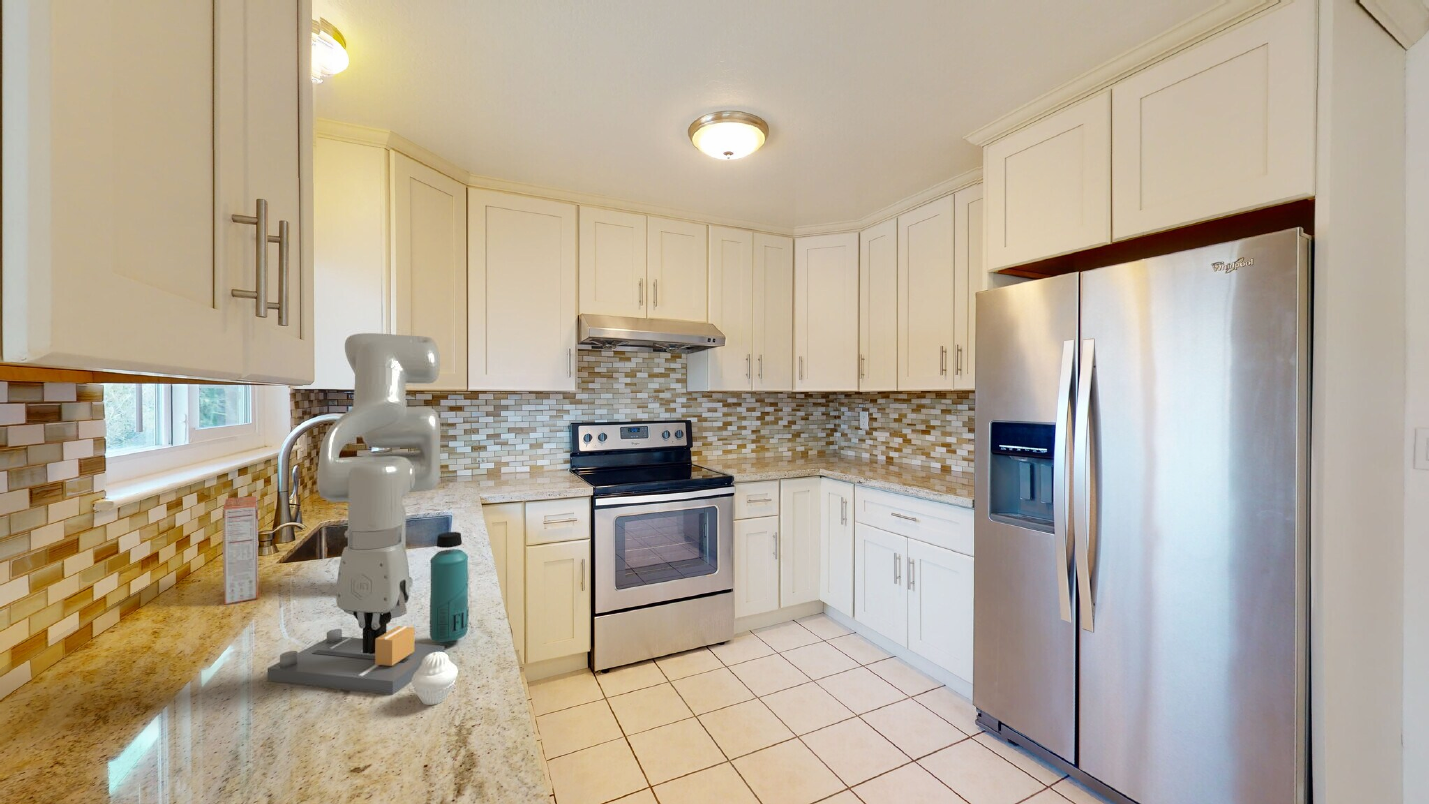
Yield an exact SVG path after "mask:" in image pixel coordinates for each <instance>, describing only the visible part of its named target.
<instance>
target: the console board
mask: <svg viewBox="0 0 1429 804" xmlns="http://www.w3.org/2000/svg"><path fill="white" fill-rule="evenodd" d="M433 652H444V653H445V645H438V644H436V645H435V644H427V643H425V644H424V643H415V642H414V652H413V653H411V654H410V655H408V656H407V657H405V658H403V659H402V660H400V661H399V662H397V663H396V664H394V665H393V666H389V665H379V664H375V653H374V654H369V653H367V654H365V653H363V637H362V638H360V637H352V636H351V637H349V636H343V630H342V629H341V628H335V629H331V630H328V631H326V638H325V639H323V640H320V641H319V642H317V643H315V644H313V645H311V646H309V647H307V648H305V649H303V650H301V651H300V652H298V651H296V650H290V651H286V652H282V653H281V654H280V655H279V662H277V663H275V664H273V665H271V666H269V667H267V672H266V673H267V676H266V678H267V681H268V682H273V683H275V682H276V683H283V684H293V685H294V684H295V685H299V686H300V685H303V686H310V687H311V686H312V687H320V688H329V689H339V690H346V691H347V690H349V691H355V692H365V693H373V694H374V693H375V694H384V695H390V696H391V695H394V694H396V693H397V692H398V691H400V690H402V689H403V688H404V687H406V686H407V685H408V684H409V683H412V682H411V680H412V677H413V675H414V673H415V672H416V671H417V670H418V669H419V667H420V666H421V665H422V660H423V659H424V658H425V657H426V656H427V655H429V654H430V653H433Z"/></svg>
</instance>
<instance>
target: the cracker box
mask: <svg viewBox="0 0 1429 804" xmlns="http://www.w3.org/2000/svg"><path fill="white" fill-rule="evenodd" d="M257 497H258V496H257V495H254V496H241V497H230V498H225V500H224V505H223V506H224V507H223V512H222V565H223V566H222V567H223V568H222V569H223V571H222V572H223V601H224V602H223V603H224V605H231V604H236V603H242V602H248V601H253V600H258V599H259V513H258V512H259V511H258V510H259V509H258V499H257Z"/></svg>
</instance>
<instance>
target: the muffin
mask: <svg viewBox="0 0 1429 804" xmlns="http://www.w3.org/2000/svg"><path fill="white" fill-rule="evenodd" d="M458 675H459V670H458V667H457V666H456V664H454V663H453V662H452V661H450V659H449V655H448V654H447V653H445V651H444V652H433V653H430V654H429V655H427V656H426V657H425V658H424V659H423V660H422V665H421V666H420V667H419V669H418V670H417V671H416V672H415V673H414V675H413V677H412V680H411V682H410V683H411V685H412V687H413V690H414V692H415V694H416V695H417V697H418V698H419V700H420V701H421V702H422V704H423V705H426V706H431V705H432V706H435V705H438V704H441V703H442V702H444V701H445V700H446V699H448V697H449V694H450V693H451V691H452V689H453V687H454V684H455V683H456V679H457V677H458Z"/></svg>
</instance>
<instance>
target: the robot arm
mask: <svg viewBox="0 0 1429 804" xmlns="http://www.w3.org/2000/svg"><path fill="white" fill-rule="evenodd" d="M344 342H345V343H344V353H345V356H346V360H347V362H348V364H349V366H350V368H351V370H352V372H353V373H354V387H353V388H354V389H353V390H354V391H353V405H352V408H351V409H349V410H347V411H345V413H344V414H342V415H341V416H340V417H339V418H338V419H336V420H335V421H334V423H333V424H332V425H331V426H330V427H329V428H328V430H327V431H326V433H325V435H324V437H323V438H322V441H321V443H320V448H319V454H318V465H317V477H316V479H317V481H316V482H317V483H316V485H317V491H318V494H319V495H320V497H321V498H322V499H323V500H325V501H327V502H331V503H346V502H347V503H348V506H347V509H348V511H347V512H348V513H347V519H348V520H347V529H346V530H345V532H344V538H347V546H345V547H343V550H342V553H341V557H340V561H339V567H338V574H337V582H336V599H335V600H336V606H337V607H338V609H340V610H342V611H343V612H344V613H346V614H349V615H352V616H353V617H354V618H355V619H356V620H357V622H358V627H359V629H362V639H363V653H365V654H367V653H369V654H374V653H375V639H376V638H378V637H380V636H382V635H383V634H385V633H387V625H389V624H390V622H391V621H392V619H395V618H396V619H397V618H401V617H402V616H404V615H406V614H407V612H408V610H407V606H406V603H408V602H409V599H410V592H411V591H410V590H411V589H410V588H411V587H412V585H413V581H414V580H413V578H412V577H410V570H409V568H410V567H409V561H408V554H407V550H406V549H407V548H406V547H407V546H406V544H407V542H406V541H407V539H406V538H407V536H406V535H407V530H406V529H407V513H406V510H405V507H404V505H403V498H404V497H405V496H406V495H407V494H408V493H415V492H417V493H418V492H426V491H431V490H434V489H435V488H436V487H437V486H438V484H439V481H440V476H441V422H440V421H441V420H440V416H439V414H438V412H437V411H436V410H435V409H433V408H431V407H427V406H406V404H407V402H406V400H407V398H406V395H407V393H406V392H407V388H406V387H407V385H406V384H427V385H428V384H433V383H435V382H436V381H437V379H438V377H439V374H440V371H441V370H440V369H441V358H440V351H439V348H438V346H437V343H436V341H435V340H434V339H433V338H431V337H428V336H420V335H406V334H405V335H404V334H392V333H379V332H378V333H377V332H375V333H373V332H366V333H365V332H362V333H355V334H351V335H349V336H348V337H347V338H346V339H345V341H344ZM360 436H362V437H361V438H362V442H363V443H364V444H365V445H366V446H368V447H369V448H370V447H371V448H375V449H377V448H378V449H396V448H397V449H398V448H399V449H401V448H404V449H405V448H416V449H418V450H419V451H390V452H389V451H387V452H386V451H385V452H372V453H368V454H364V455H363V456H355V457H354V456H353V457H351V456H350V457H340V453H341V451H342V449H343V448H344V447H345V446H346V445H347V444H348V443H349V442H351V441H353V440H354V439H356V438H358V437H360Z"/></svg>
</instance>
